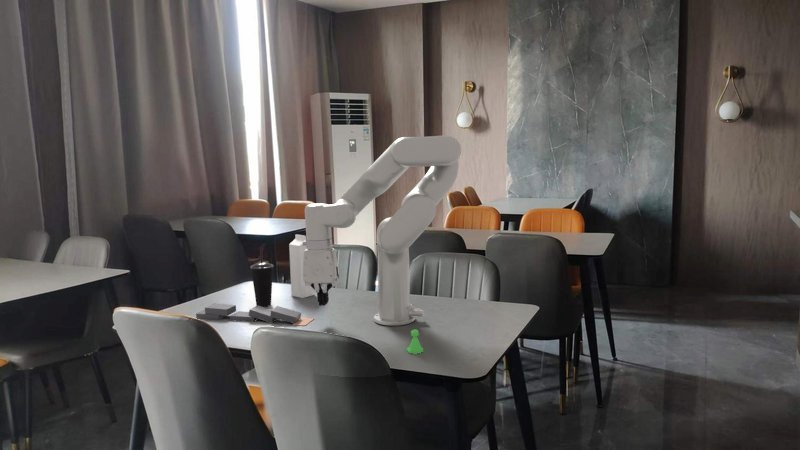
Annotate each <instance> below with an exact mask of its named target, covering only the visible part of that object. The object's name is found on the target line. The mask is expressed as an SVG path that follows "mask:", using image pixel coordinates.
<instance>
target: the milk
mask: <svg viewBox="0 0 800 450" xmlns="http://www.w3.org/2000/svg"><path fill="white" fill-rule="evenodd" d="M306 240H307V239H306V235H303V234H295V238H294V239H293V240H292V241H291V242H290V243H289V244H288V247H289V248H288V249H289V250H288V251H289V267H290V268H289V269H290V270H289V271H290V290H291V291H290V293H291V294H290V295H291V296H292V297H296V298H299V299H304V298H307V297H311V296H312V297H313V296H315V293H316V292H315V290H314V289H313V288H312V287H311V286H307V285H305V282H304V280H303V258H304V251H305V250H306V249H307V248H306V246H305V245H304V246H303V241H306Z"/></svg>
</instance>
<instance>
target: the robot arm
mask: <svg viewBox="0 0 800 450" xmlns="http://www.w3.org/2000/svg"><path fill="white" fill-rule="evenodd" d="M461 154H462V147H461V143H460V142H459V140H458V139H457V138H455V137H453V136H452V135H447V134H446V135H435V136H434V135H431V136H402V137H399V138H397V139H396V140H394V141H393V142H392V143H391V144H390V145H389V146H388V148H386V149H385V150H384V151H383V153H382V154H381V155H380V156H379V157H378V158H376V160H375V161H374V162H373V163H372V164H371V165H370V166H368V168H367V169H366V170H364V172H362V174H361V176H360V177H359V178H358V179H357V181H355V182H354V184H353V185H351V187H349V189H348V190H346V191H345V193H344V194H343V195H342V196H340V198H339V199H338V200H337V201H336V202H335V203H334V204H328V203H324V202H317V203H310V204H309V203H308V204H307V205H306V206H305V207H304V220H305V233H306V234H305V236H306V241H303V246H304V245H305V246H306V248H307V249H306V250H305V251H304V258H303V280H304V282H305V285H307V286H311V287H312V288H313V289H314V292H315V293H316V298H317V299H316V300H317V303H318V306H323V307H324V306H326V305H327V304H328V302H329V299H330V298H329V290H331V288H334V287H337V286H339V285H340V280H339V278H340V270H339V263H338V262H339V261H338V258H337V253H336V249H335V248H333V238H332V237H333V235H332V228H337V229H347V228H350V227H351V226H353V224H354V223H355V221H356V220H357V216H358V215H359V214H360V213H361V212H362V211H363V210H364V209H365V208H366V207H367V206H368V204H370V203H371V202H372V201H374V199H376V198H377V197H379V196H381V195H382V194H384V193H385V192H386V191H388V190H389V189H390V188H391V187H392V185H393V184H395V182H396V181H398V179H400V178H401V177H402V175H403V174H404V173H405V172H406V171H407V170H408V169H409V168H410V167H411V168H413V167H414V168H415V167H416V168H421V167H429V169H428V170H427V172H426V174H424V175H423V177H422V178H421V179H420V181H419V182H418V183H417V184H416V185H415V186H414V187H413V188H412V189H411V191H410V192H408V193H407V194H406V196H404V198H403V199H402V201H401V206H400V207H399V209H398V210H396V212H395V213H394V214H393V216H390V217H386V218H385V219H383V220H382V221H381V222H380V223H378V226H377V230H376V250H377V251H376V252H377V287H378V288H377V290H378V291H377V293H378V313H375V314H374V316H373V321H374V322H375V323H376V324H378V325H383V326H389V327H390V326H392V327H393V326H394V327H395V326H403V325H408V324H412V323H413V322H414V321H415V320H416V317H419V318H420V317H421V318H422V317H424V315H425V313H424V312H425V311H424V310H423V309H421V308H415V307H413V304H412V303H411V302H410V299H411V297H410V293H411V292H410V290H411V289H410V247H411V246H412V245H413V244H414V242H415V241H416V240H417V239H418V238H419V237H420V236H421V235H422V234H423V232H424V231H425V230H426V229H427V228H428V227H429V226H430V224H431V223H432V222H433V220H434V218H435V216H436V213H437V206H438V205H439V204H440V202H441V201H442V200H443V198H444V197H445V196H446V194H447V193H448V192H449V191H450V190H451V188H452V187H453V185H454V184H455V182H456V180H457V177H458V172H459V159H460V157H461V156H462V155H461Z"/></svg>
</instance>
